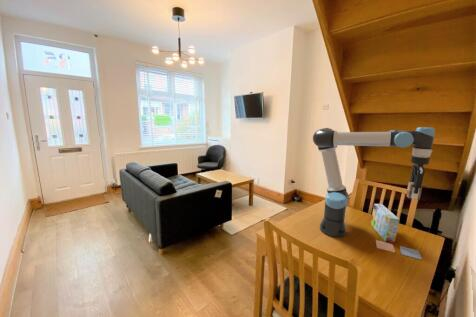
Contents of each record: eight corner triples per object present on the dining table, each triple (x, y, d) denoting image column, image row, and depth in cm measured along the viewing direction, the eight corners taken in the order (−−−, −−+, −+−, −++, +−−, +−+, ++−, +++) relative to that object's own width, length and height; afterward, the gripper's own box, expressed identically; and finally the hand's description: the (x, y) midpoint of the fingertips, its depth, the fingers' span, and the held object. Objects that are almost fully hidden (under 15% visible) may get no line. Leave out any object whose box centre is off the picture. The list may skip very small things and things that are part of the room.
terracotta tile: (376, 248, 113) (377, 247, 113) (375, 240, 120) (375, 240, 120) (394, 252, 109) (395, 252, 109) (392, 244, 116) (392, 244, 116)
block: (408, 198, 115) (410, 183, 113) (406, 195, 119) (408, 181, 117) (419, 199, 112) (422, 185, 111) (417, 196, 117) (420, 182, 115)
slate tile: (402, 254, 108) (402, 254, 108) (399, 246, 114) (399, 245, 114) (421, 260, 104) (422, 259, 104) (417, 251, 111) (418, 250, 111)
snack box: (396, 243, 117) (400, 219, 114) (385, 242, 118) (389, 218, 115) (379, 224, 138) (382, 203, 135) (369, 223, 139) (372, 202, 136)
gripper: (435, 160, 102) (426, 204, 106) (425, 154, 117) (417, 193, 122) (415, 158, 105) (407, 201, 110) (408, 153, 121) (401, 190, 125)
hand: (412, 196), depth 116 cm, fingers closed on block, 5 cm apart
